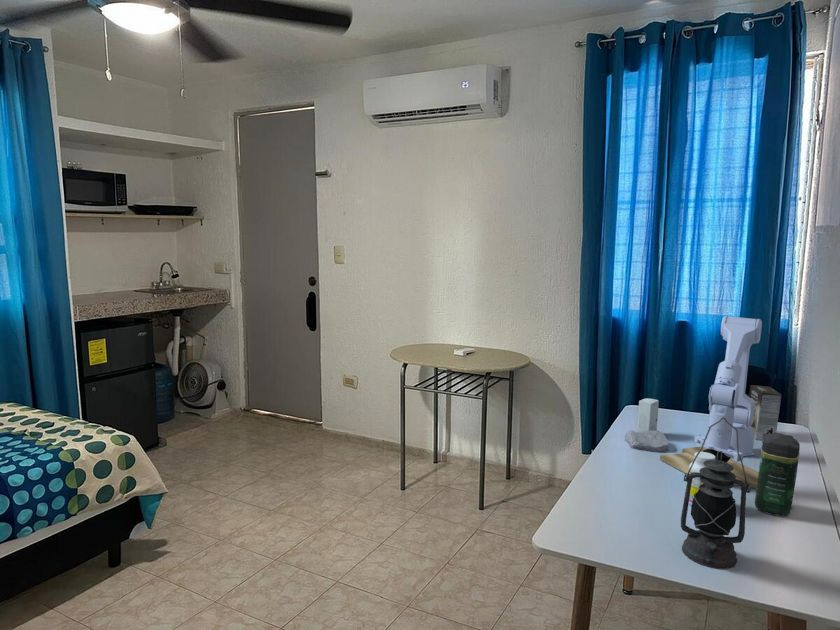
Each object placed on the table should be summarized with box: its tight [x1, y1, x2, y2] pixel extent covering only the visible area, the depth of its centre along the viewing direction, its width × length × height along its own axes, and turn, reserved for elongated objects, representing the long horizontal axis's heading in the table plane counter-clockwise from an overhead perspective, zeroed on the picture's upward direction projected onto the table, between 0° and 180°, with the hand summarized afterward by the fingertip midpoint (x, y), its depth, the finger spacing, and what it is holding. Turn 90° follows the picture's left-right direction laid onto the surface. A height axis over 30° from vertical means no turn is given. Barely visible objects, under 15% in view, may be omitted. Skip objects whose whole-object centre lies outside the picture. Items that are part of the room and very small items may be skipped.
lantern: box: [680, 418, 752, 570], centre depth 124 cm, size 12×11×30 cm
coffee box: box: [748, 384, 782, 441], centre depth 198 cm, size 9×6×16 cm
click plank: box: [659, 452, 742, 486], centre depth 169 cm, size 10×20×1 cm, turn 19°
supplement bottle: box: [688, 452, 715, 506], centre depth 148 cm, size 7×7×13 cm
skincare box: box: [636, 397, 660, 432], centre depth 196 cm, size 6×4×12 cm
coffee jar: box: [754, 432, 800, 517], centre depth 146 cm, size 10×8×19 cm
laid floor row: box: [681, 445, 759, 489], centre depth 172 cm, size 8×26×1 cm, turn 19°
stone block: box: [624, 429, 670, 453], centre depth 188 cm, size 12×5×10 cm
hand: (714, 476), depth 162 cm, fingers closed
